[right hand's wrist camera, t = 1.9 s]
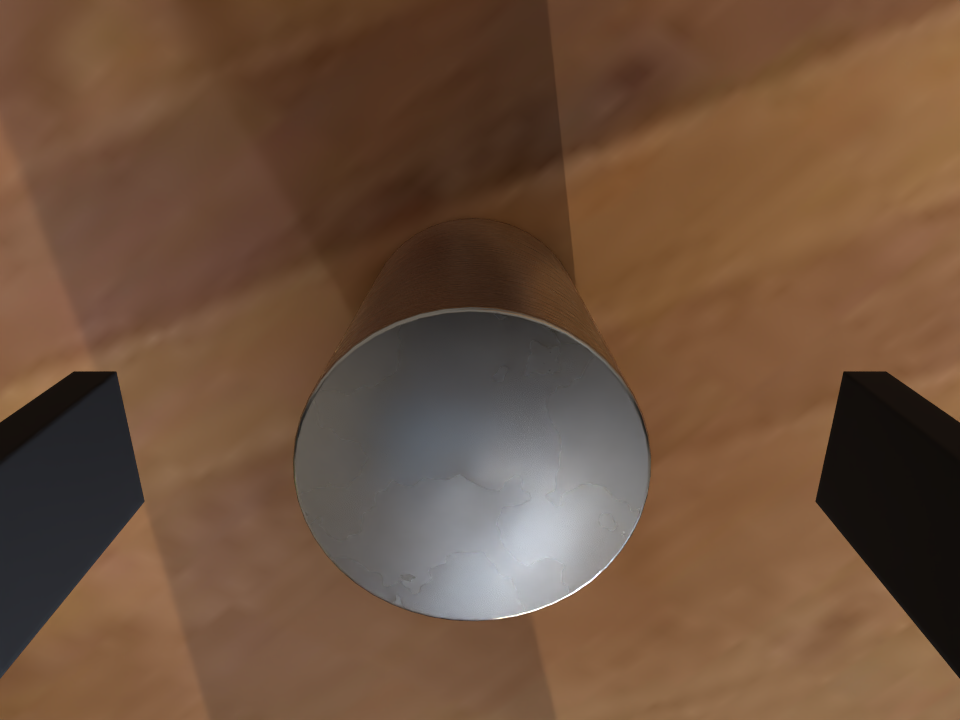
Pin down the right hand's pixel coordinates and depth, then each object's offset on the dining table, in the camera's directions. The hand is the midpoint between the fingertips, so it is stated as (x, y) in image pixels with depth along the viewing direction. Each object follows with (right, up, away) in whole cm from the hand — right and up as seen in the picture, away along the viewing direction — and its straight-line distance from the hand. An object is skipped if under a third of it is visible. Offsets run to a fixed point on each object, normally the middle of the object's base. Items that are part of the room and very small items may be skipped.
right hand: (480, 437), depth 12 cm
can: (0, +2, +8) cm, 8 cm away
